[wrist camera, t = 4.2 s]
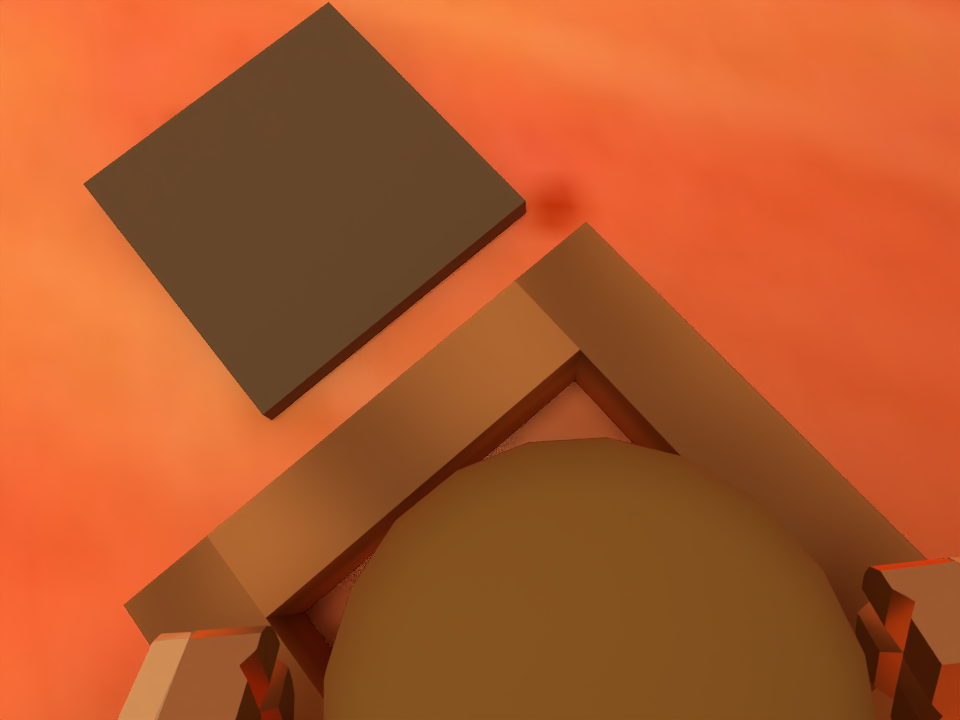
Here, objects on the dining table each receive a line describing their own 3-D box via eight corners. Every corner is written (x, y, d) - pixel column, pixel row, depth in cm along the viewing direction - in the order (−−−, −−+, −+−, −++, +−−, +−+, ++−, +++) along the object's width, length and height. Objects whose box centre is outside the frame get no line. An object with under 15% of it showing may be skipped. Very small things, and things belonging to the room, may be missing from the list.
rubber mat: (334, 17, 21) (328, 2, 21) (525, 212, 19) (525, 200, 19) (96, 194, 20) (83, 183, 20) (271, 419, 18) (262, 414, 18)
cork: (579, 864, 15) (664, 1485, 5) (364, 645, 17) (68, 755, 6) (764, 626, 16) (1179, 711, 6) (547, 438, 18) (557, 230, 7)
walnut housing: (580, 267, 19) (586, 221, 16) (980, 674, 16) (1059, 691, 13) (181, 601, 17) (123, 605, 15) (537, 1122, 14) (536, 1232, 12)
